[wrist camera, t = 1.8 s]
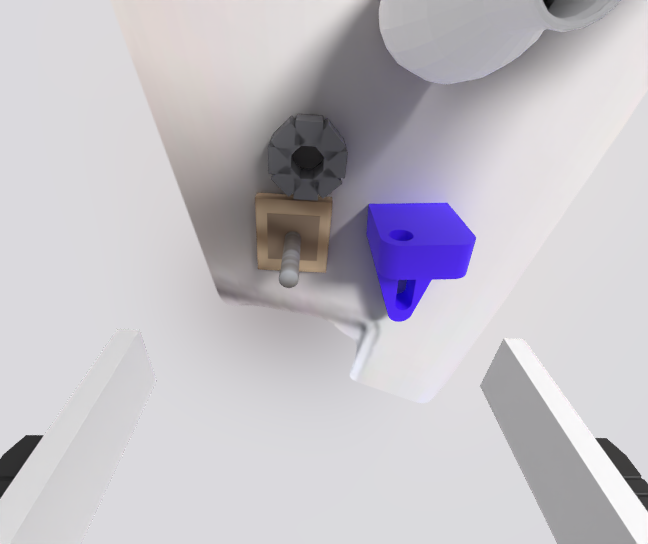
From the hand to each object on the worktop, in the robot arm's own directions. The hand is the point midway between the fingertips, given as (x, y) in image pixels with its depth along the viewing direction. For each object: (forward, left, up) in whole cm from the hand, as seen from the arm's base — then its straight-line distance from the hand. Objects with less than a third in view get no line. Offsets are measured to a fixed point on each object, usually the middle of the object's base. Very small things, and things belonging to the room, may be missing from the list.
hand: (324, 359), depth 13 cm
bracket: (+16, +14, -35) cm, 41 cm away
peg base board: (+13, -2, -35) cm, 37 cm away
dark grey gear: (+2, -1, -35) cm, 35 cm away
